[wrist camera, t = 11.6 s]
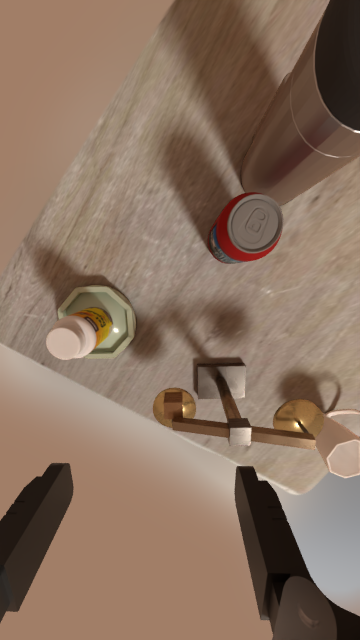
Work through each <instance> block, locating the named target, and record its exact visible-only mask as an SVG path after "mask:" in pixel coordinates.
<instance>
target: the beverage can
mask: <svg viewBox="0 0 360 640" xmlns="http://www.w3.org/2000/svg"><path fill="white" fill-rule="evenodd" d="M282 228H283V214H282V211H281V208H280V207H279V205H278V203H277V202H276V201H275V200H274V199H272V198H271V197H269V196H267V195H265V194H262V193H257V192H248V193H244V194H241V195H239V196H237V197H235V198H234V199H232V200H231V201H230V202H229V203H228V204H227V205H226V207H225V208H224V209H223V211H222V212H221V214H220V215H219V217H218V218H217V220H216V221H215V223H214V224H213V226H212V228H211V229H210V232H209V235H208V247H209V250H210V252H211V254H212V255H213V257H214V258H215V259H217V260H218V261H220V262H222V263H227V264H231V263H241V262H247V261H253V260H257V259H260V258H262V257H264V256H266V255H267V254H268V253H270V252H271V251H272V250H273V248H274V247H275V246H276V244H277V243H278V241H279V239H280V236H281V233H282Z"/></svg>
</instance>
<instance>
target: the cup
mask: <svg viewBox="0 0 360 640" xmlns="http://www.w3.org/2000/svg"><path fill="white" fill-rule="evenodd" d="M346 413H354V414H359V415H360V411H358V410H356V409H340V410H333V411H329V412H327V413H326V414H324V413H323V416H324V425H323V428H322V430H321V432H320V433H319V434H318V435H317V436H316V437H315V440H316V444H315V446H316V448H317V449H318V451H319V453H320V455H321V456H322V458H323V460H324V462H325V464H326V466H327V468H328V469H329V471H330V472H331V473H333V474H336V475H338V476H341V477H343V478H348V477H352V476H356V475H359V474H360V437H358V436H357V435H355V434H354V433H353V432H351V431H350V430H349V429H347V428H346V427H345V426H343V425H341V424H340V423H338V422H336V421H335V420H333V419H331V418H329V417H331V416H332V415H337V414H346Z"/></svg>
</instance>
